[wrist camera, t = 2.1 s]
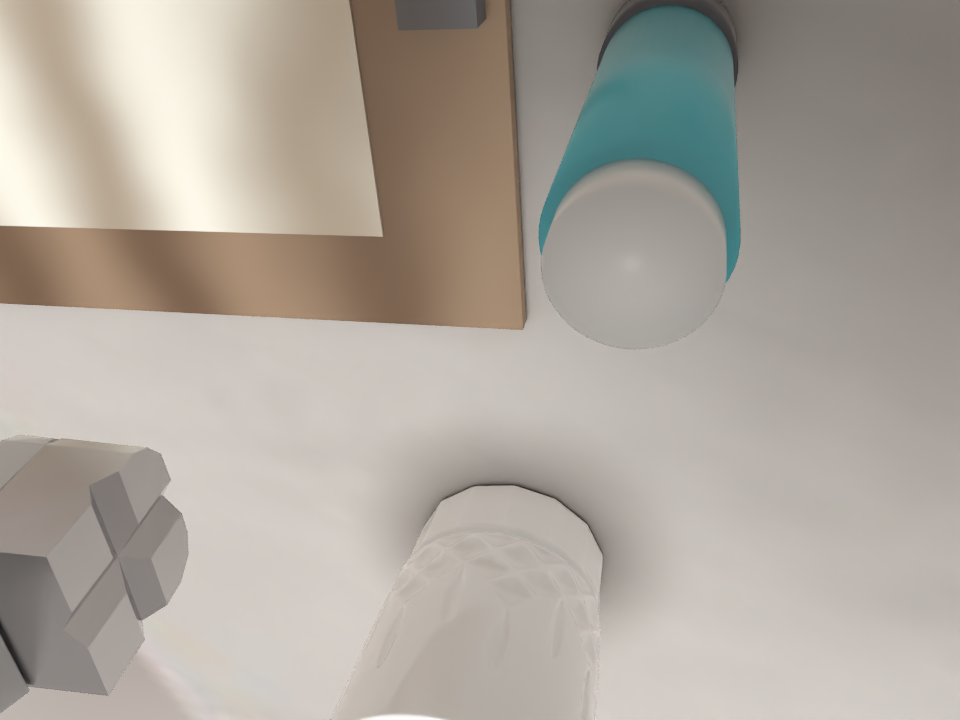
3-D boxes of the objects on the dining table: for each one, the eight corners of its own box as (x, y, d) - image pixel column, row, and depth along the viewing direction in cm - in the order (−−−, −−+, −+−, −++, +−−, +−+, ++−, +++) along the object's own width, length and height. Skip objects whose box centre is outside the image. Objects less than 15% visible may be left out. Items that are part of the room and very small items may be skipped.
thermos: (741, -21, 21) (759, 164, 12) (731, 113, 23) (739, 372, 13) (605, -16, 22) (515, 162, 12) (605, 113, 24) (525, 360, 14)
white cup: (553, 653, 36) (505, 915, 28) (378, 563, 35) (275, 804, 27) (662, 539, 31) (642, 810, 23) (463, 432, 31) (371, 674, 23)
